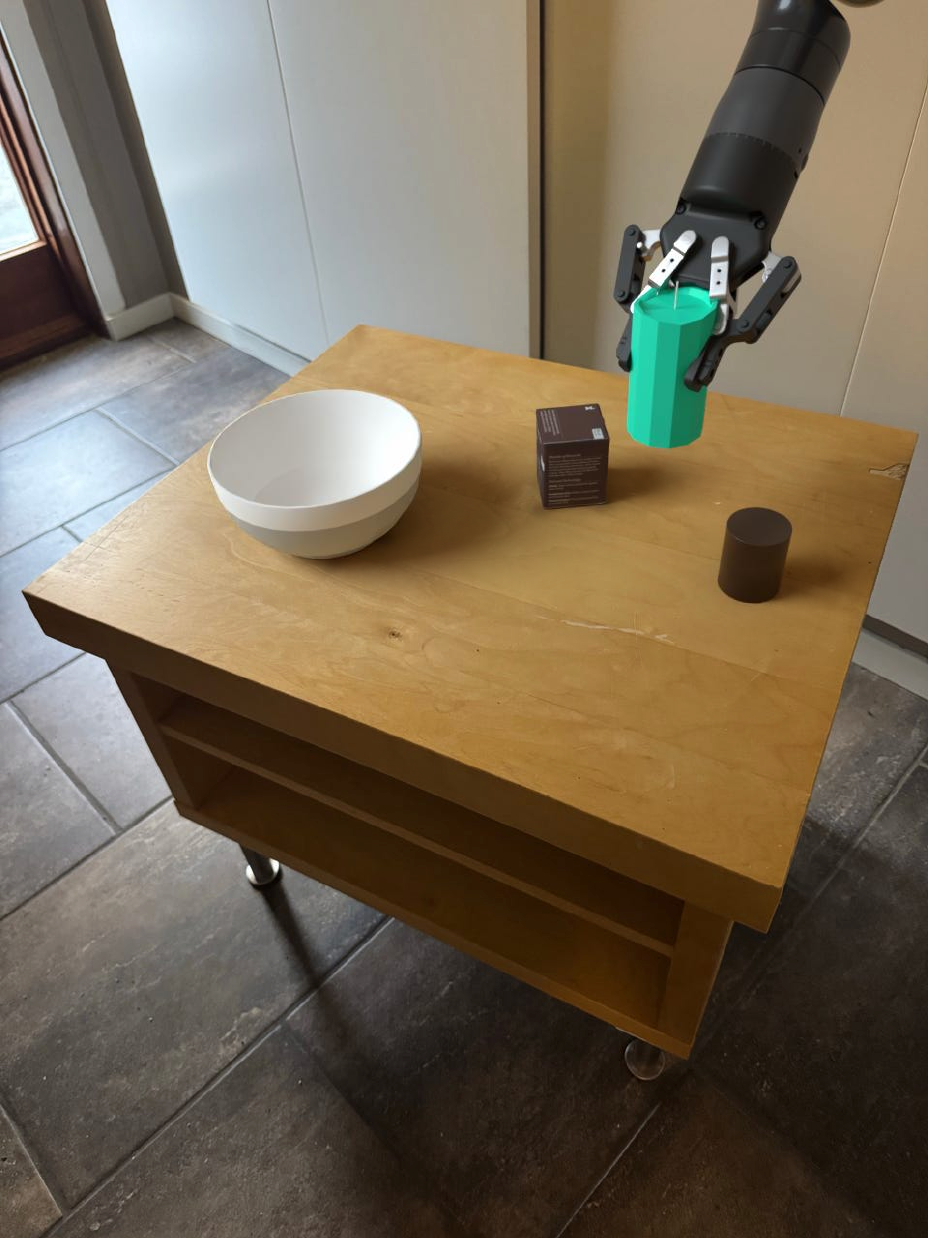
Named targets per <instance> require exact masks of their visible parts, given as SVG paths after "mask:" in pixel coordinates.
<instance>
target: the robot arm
mask: <svg viewBox="0 0 928 1238" xmlns="http://www.w3.org/2000/svg"><path fill="white" fill-rule="evenodd" d="M836 1H837V2H838V3H840V4H841V5H843V6H846V7H849V8H852V9H853V8H854V9H866V8H870V7H874V6H877V5H880V4H881V3H883V2H884V1H885V0H836ZM851 33H852V32H851V30H850V26H849V23H848V21H847V19H846V18H845V17H844V15H843V14H842V13H841V12H840V10H839V9H838V8H837V7H836V5H835V4H834V3H833V2H832V1H831V0H758V1H757V7H756V11H755V17H754V20H753V24H752V28H751V31H750V34H749V36H748V38H747V40H746V43H745V45H744V48H743V50H742V53H741V55H740V57H739V59H738V62H737V64H736V67H735V70H734V72H733V75H732V77H731V79H730V82H729V83H728V86H727V88H726V89H725V91H724V92H723V95H722V97H721V98H720V99H719V102H718V103H717V106H716V107H715V110H714V111H713V113H712V116H711V119H710V121H709V123H708V126H707V129H706V131H705V133H704V136H703V138H702V140H701V143H700V145H699V147H698V150H697V152H696V155H695V157H694V160H693V162H692V165H691V167H690V169H689V171H688V174H687V176H686V179H685V181H684V184H683V186H682V188H681V191H680V193H679V196H678V199H677V203H676V206H675V210H674V212H673V214H672V215H671V217H670V218H669V219H667V221H666V222H665V223H664V224H663V225H662V226H661V228H660V229H648V230H647V229H644V230H641V229H640V227H639V226H638V225H637V224H630V225H628V226H627V227H626V228H625V230H624V232H623V237H622V242H621V243H622V244H621V248H620V255H619V259H618V266H617V270H616V271H617V272H616V277H615V283H614V288H613V294H612V295H613V299H614V300H615V302H616V303H617V304H618V305H619V306H620V307H621V309H622V310H623V311H624V312H625V313H626V314H628V320H627V323H626V325H625V328H624V329H623V332H622V334H621V337H620V339H619V342H618V344H617V347H616V349H615V357H616V358H617V359H618V361H617V364H618V367H619V368H621V369H622V371H623V372H625V373H629V374H630V367H631V342H632V324H633V307H634V303H635V301H636V300H637V299H638V298H639V297H640V296H641V295H643V294H644V293H645V292H647V291H648V290H649V289H650V288H654V289H656V290H657V295H658V294H659V293H661V292H662V291H663V290H666V289H674V288H676V282H677V281H679V283H678V288H681V287H688V286H694V287H698V288H700V289H703V290H707V291H710V294H709V298H710V305H711V304H712V303H713V302H718V304H717V310H716V316H715V322H714V326H713V327H714V328H713V330H712V331H711V333H712V335H713V337H712V336H709V338H708V340H707V342H706V344H705V345H704V347H703V349H702V351H701V352H700V354H699V356H698V358H696V359H695V360H694V361H693V362H692V363H691V364H690V366H689V368H688V371H687V373H686V375H685V378H684V385H685V386H686V387H687V388H688V389H689V390H691V391H694V392H700V390H701V388H702V386H706V387H707V386H708V387H709V386H710V384H711V383H712V382H713V381H714V378H715V376H716V373H717V371H718V368H719V367H720V365H721V362H722V359H723V357H724V354H725V352H726V350H727V348H729V346H731V345H733V344H739V343H745V344H746V345H753V344H756V343H757V342H759V340H760V338H761V337H762V335H763V334H764V333H765V331H766V330H767V328H768V327H769V326H770V324H772V322H773V320H774V319H775V317H776V316H777V315H778V314H779V312H780V311H781V309H782V308H783V306H784V305H785V304H786V302H788V300H789V298H790V297H791V295H793V292H795V290H796V288H797V287H798V286H799V284H800V283H801V281H802V278H803V277H802V273H801V269H800V267H799V264H798V262H797V261H796V258H795V257H794V256H791V255H785V256H783V257H782V256H781V255H779V254H777V253H774V252H773V250H772V241H773V238H774V235H776V232H777V231H778V227H779V226H780V224H781V221H782V219H783V216H784V214H785V211H786V210H787V207H788V204H789V202H790V200H791V197H792V195H793V193H794V190H795V188H796V186H797V183H798V181H799V178H800V176H801V174H802V173H803V171H805V168H806V166H807V163H808V161H809V157H810V152H811V151H812V148H813V145H814V142H815V139H816V136H817V134H818V133H817V132H818V130H819V125H820V122H821V118H822V116H823V113H824V111H825V108H826V106H827V104H828V102H829V99H830V96H831V94H832V91H833V89H834V87H835V85H836V83H837V79H838V78H839V75H840V73H841V71H842V68H843V67H844V64H845V61H846V59H847V57H848V53H849V50H850V47H851V38H852V34H851ZM659 248H660V249H661V253H662V258H663V259H662V261H661V262H660V263H659V265H658V266H657V267H656V268H655V269H654V271H653V272H652V273H651V274H650V276H649V278H647V279H648V281H647V284H646V286H645V287H644V288H643V290H642V287H643V284H644V283H643V282H644V278H645V272H646V264H647V262H651V261H652V260H653V257H654V255H655V252H656V251H657V250H658V249H659ZM762 270H764V271H763V273H762V276H761V280H762V282H763V284H762V285H761V287H760V288H759V289H758V290H757V292H756V293H755V294H754V296H753V298H752V299H751V300H750V302H749V303H748V305H747V306H746V307H745V309H744V310H743V311H742V313H741V314H740V316H739V317H738V318H736V316H737V314H738V305H739V304H738V303H739V290H740V287H742V286H743V285H744V284H745V283H746V282H747V281H749V280H750V279H752V278H753V277H754V276H756V275H757V274H758V273H760V272H761V271H762Z"/></svg>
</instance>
